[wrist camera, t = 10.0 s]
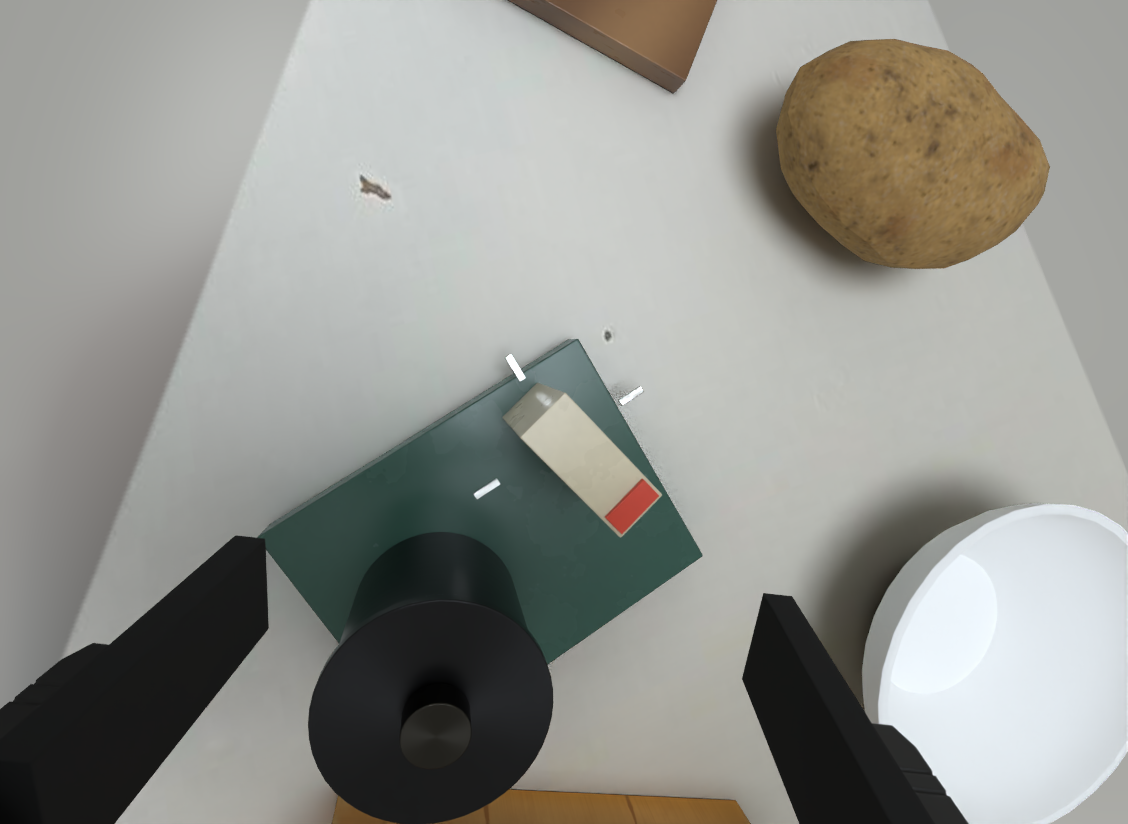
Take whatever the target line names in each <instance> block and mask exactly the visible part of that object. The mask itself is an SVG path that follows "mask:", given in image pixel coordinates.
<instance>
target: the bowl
mask: <svg viewBox="0 0 1128 824" xmlns="http://www.w3.org/2000/svg"><path fill="white" fill-rule="evenodd" d="M862 682H863V700H864V707H865V713H866V715H867V716H868V718H869V720H870V721H871V723H875V724H884V725H892V726H893V727H895V728H896V729H897V730H898V731H899V732H900V733H901V734H902V735H903V736H904V737H905V738H907V739H908V740H909V741H910V742H911V743H912V744H913V745H914V746H915V747H916V748H917V749H918V751H919V752H920V754H921V755H922V757H923V758H924V760H925V761H926V762H927V764H928V765H929V767H930V768H931V770H932V774H933V776H936V777H937V778H938V780H939V781H940V783H941V784H942V786H943V787H944V789H945V790H946V795H947V796H950V797H951V799H952V800H953V802H954V803H955V805H956V806H957V808H958V809H959V810H960V812H961V813H962V815H963V816H964V818H965V819H966V821H967V822H968V824H1050V823H1051V822H1053V821H1055V820H1056V819H1058V818H1060V817H1062V816H1063V815H1065V814H1067V813H1069V812H1070V811H1072V810H1073V809H1074V808H1075V807H1076V806H1078V805H1079V804H1080V803H1081V802H1083V801H1084V800H1085V799H1086V798H1088V797H1089V796H1090V795H1091V794H1092V793H1094V792H1095V791H1096V790H1097V788H1098V787H1099V786H1100V785H1101V784H1102V783H1103V782H1104V781H1105V780H1106V779H1107V778H1108V776H1109V775H1110V774H1111V773H1112V772H1113V771H1114V770H1115V769H1116V767H1117V766H1118V764H1119V763H1120V761H1121V760H1122V758H1123V757H1124V756H1125V754H1126V753H1127V751H1128V533H1127V532H1126V531H1125V530H1124V529H1123V528H1122V527H1121V526H1120V525H1119V524H1117V523H1116V522H1114V521H1112V520H1111V519H1109V518H1107V517H1106V516H1104V515H1102V514H1101V513H1099V512H1097V511H1093V510H1090V509H1086V508H1083V507H1079V506H1075V505H1071V504H1045V503H1029V504H1020V505H1013V506H1008V507H1004V508H999V509H994V510H990V511H986V512H984V513H982V514H980V515H977V516H975V517H973V518H971V519H968V520H966V521H964V522H962V523H960V524H957V525H955V526H953V527H951V528H948V529H946V530H945V531H944V532H942V533H941V534H939V535H938V536H937V537H935V538H934V539H932V540H931V541H929V542H928V543H927V544H925V545H924V546H923V547H922V548H921V549H920V550H919V551H918V552H917V553H916V554H915V555H914V556H913V557H912V558H911V559H910V560H909V561H908V562H907V563H906V564H905V565H904V566H903V568H902V569H901V571H900V572H899V573H898V575H897V576H896V578H895V579H894V580H893V582H892V583H891V585H890V586H889V587H888V589H887V591H886V593H885V595H884V597H883V599H882V601H881V603H880V605H879V607H878V609H877V611H876V613H875V615H874V618H873V621H872V624H871V627H870V631H869V634H868V637H867V640H866V644H865V652H864V659H863V667H862Z"/></svg>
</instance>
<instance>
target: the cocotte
mask: <svg viewBox="0 0 1128 824" xmlns="http://www.w3.org/2000/svg"><path fill="white" fill-rule="evenodd" d="M552 709H553V687H552V680H551V675H550V672H549V668H548V665H547V662H546V659H545V657H544V654H543V652H542V650H541V648H540V646H539V644H538V643H537V641H536V640H535V638H534V637H533V635H532V634H531V633H530V632H529V631H528V628H527V625H526V622H525V619H524V616H523V612H522V609H521V606H520V603H519V600H518V596H517V593H516V590H515V587H514V584H513V580H512V577H511V575H510V573H509V571H508V569H507V567H506V566H505V564H504V563H503V561H502V560H501V559H500V558H499V557H498V555H497V554H496V553H495V552H493V551H492V550H491V549H490V548H489V547H487V546H486V545H484V544H483V543H481V542H479V541H477V540H475V539H473V538H471V537H467V536H464V535H461V534H456V533H448V532H435V533H426V534H421V535H417V536H414V537H411V538H408V539H406V540H404V541H402V542H399V543H397V544H396V545H394V546H393V547H391V548H390V549H388V550H387V551H386V552H384V553H383V554H382V555H381V556H380V557H379V558H378V559H377V560H376V561H375V562H374V563H373V564H372V565H371V567H370V568H369V569H368V571H367V572H366V574H365V575H364V577H363V579H362V581H361V583H360V585H359V588H358V590H357V593H356V596H355V599H354V602H353V605H352V608H351V611H350V614H349V617H348V620H347V623H346V626H345V629H344V631H343V634H342V637H341V640H340V643H339V645H338V646H337V647H336V649H335V650H334V651H333V653H332V654H331V656H330V657H329V658H328V660H327V662H326V664H325V666H324V668H323V669H322V671H321V673H320V676H319V679H318V681H317V684H316V686H315V689H314V692H313V695H312V700H311V704H310V708H309V720H308V730H309V741H310V745H311V750H312V754H313V757H314V759H315V762H316V764H317V767H318V769H319V771H320V772H321V774H322V776H323V777H324V779H325V781H326V782H327V783H328V784H329V786H330V787H331V788H332V789H333V791H334V792H335V793H336V794H337V795H339V796H340V797H341V798H342V799H343V800H344V801H345V802H347V803H348V804H350V805H351V806H353V807H354V808H356V809H357V810H359V811H361V812H363V813H365V814H367V815H369V816H371V817H374V818H378V819H381V820H384V821H388V822H393V823H399V824H434V823H440V822H445V821H450V820H453V819H456V818H460V817H463V816H465V815H468V814H470V813H472V812H475V811H477V810H479V809H481V808H483V807H484V806H486V805H488V804H490V803H492V802H493V801H494V800H496V799H497V798H499V797H500V796H501V795H503V794H504V793H505V792H506V791H508V790H509V789H510V788H511V787H512V786H513V785H514V784H515V783H516V782H517V781H518V780H519V779H520V778H521V777H522V776H523V775H524V774H525V772H526V771H527V770H528V768H529V767H530V766H531V764H532V763H533V761H534V760H535V758H536V756H537V755H538V753H539V751H540V749H541V747H542V745H543V743H544V740H545V738H546V735H547V733H548V729H549V725H550V721H551V717H552Z"/></svg>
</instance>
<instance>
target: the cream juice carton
mask: <svg viewBox="0 0 1128 824" xmlns="http://www.w3.org/2000/svg"><path fill="white" fill-rule="evenodd" d="M502 418H503V419H504V420H505V422H506V423H507V424H508V425H509V426H510V427H511V428H512V429H513V431H514V432H515V433H516V434H517V435H518V436H519V437H520V438H521V439H522V440H523V441H524V442H525V443H526V444H527V445H528V446H529V447H530V448H531V449H532V450H533V451H534V452H535V453H536V454H537V455H538V456H539V457H540V458H541V459H542V460H543V461H544V462H545V463H546V464H547V465H548V466H549V467H550V468H551V469H552V470H553V471H554V472H555V473H556V474H557V475H558V476H559V477H560V478H561V479H562V480H563V481H564V482H565V483H566V484H567V485H568V486H569V487H570V488H571V489H572V490H573V491H574V492H575V493H576V494H577V495H578V496H579V497H580V498H581V499H582V500H583V501H584V502H585V503H586V504H587V505H588V506H589V507H590V508H591V509H592V510H593V511H594V512H595V513H596V514H597V515H598V516H599V517H600V518H601V519H602V520H603V521H604V522H605V523H606V524H607V525H608V526H609V527H610V528H611V529H612V530H613V531H614V532H615V533H616V534H617V535H618V536H619V537H620V538H621V537H622V536H623V535H624V534H625V533H626V532H627V531H628V530H629V529H630V528H631V527H632V526H633V525H634V524H635V523H636V522H637V521H638V520H639V519H640V518H641V517H642V516H643V515H644V514H645V513H646V512H647V511H648V509H649V508H650V507H651V506H652V505H653V504H654V503H655V502H656V501H657V500H658V499H659V498H660V497H661V496H662V494H661V493H660V492H659V491H658V489H657V488H656V487H655V486H654V485H653V484H652V483H651V482H650V481H649V480H648V479H647V478H646V477H645V476H644V475H643V474H642V473H641V472H640V471H639V469H638V468H637V467H636V466H635V465H634V464H633V463H632V462H631V461H630V460H629V459H628V458H627V457H626V456H625V455H624V454H623V453H622V452H621V450H620V449H619V448H618V447H617V446H616V445H615V444H614V443H613V442H612V441H611V440H610V439H609V438H608V437H607V436H606V435H605V434H604V433H603V432H602V430H601V429H600V428H599V427H598V426H597V425H596V424H595V423H594V422H593V421H592V420H591V419H590V418H589V417H588V416H587V415H586V414H585V413H584V412H583V410H582V409H581V408H580V407H579V406H578V405H577V404H576V403H575V402H574V401H573V400H572V399H571V398H570V397H569V396H568V395H567V394H566V393H565V392H562V391H559V390H556V389H553V388H551V387H548V386H545V385H542V384H540V383H536V384H535V385H534V386H533V387H532V388H531V389H530V390H529V391H528V392H527V393H526V394H525V395H524V396H523V397H522V398H521V399H520V400H519V401H518V402H517V403H516V404H515V405H514V406H513V407H512V408H511V409H510V410H509V411H508V412H507V413H506V414H505V415H504V416H503V417H502Z"/></svg>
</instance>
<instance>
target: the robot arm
mask: <svg viewBox="0 0 1128 824" xmlns="http://www.w3.org/2000/svg"><path fill="white" fill-rule="evenodd" d="M268 628H269V627H268V600H267V573H266V546H265V539H263V538H254V537H245V536H234V537H233V538H232V539H231V540H230V541H229V542H227V543H226V544H225V545H224V546H223V547H222V548H221V549H219V550H218V551H217V552H216V553H215V554H214V555H212V556H211V557H210V558H209V559H208V560H207V561H206V562H204V563H203V564H202V565H201V566H200V567H199V568H197V569H196V570H195V571H194V572H193V573H192V574H190V575H189V576H188V577H187V578H186V579H185V580H184V581H182V582H181V583H180V584H179V585H178V586H177V587H175V588H174V589H173V590H172V591H171V592H170V593H169V594H167V595H166V596H165V597H164V598H163V599H162V600H160V601H159V602H158V603H157V604H156V605H155V606H154V607H152V608H151V609H150V610H149V611H148V612H147V613H145V614H144V615H143V616H142V617H141V618H140V619H138V620H137V621H136V622H135V623H134V624H133V625H132V626H130V627H129V628H128V629H127V630H126V631H125V632H123V633H122V634H121V635H120V636H119V637H118V638H117V639H115V640H114V641H113V642H112V643H111V644H110V645H106V644H96V643H92V644H90V645H88V646H87V647H85V648H83V649H81V650H79V651H77V652H75V653H73V654H71V655H69V656H67V657H65V658H64V659H62V660H60V661H59V662H58V663H57V664H55V665H54V666H53V667H52V668H50V669H49V670H48V671H47V672H46V673H44V674H43V675H42V676H41V677H39V678H38V679H37V680H36V683H35V684H34V685H33V684H31V685H29V686H28V687H27V688H26V689H25V690H23V691H22V692H21V693H20V694H18V695H17V696H16V697H15V699H14V701H13V702H9V703H7V704H6V705H5V706H4V707H2V708H1V709H0V824H115V822H116V821H117V820H118V818H119V817H120V816H121V815H122V813H123V812H124V811H125V810H126V808H127V807H128V806H129V805H130V803H131V802H132V801H133V799H134V798H135V797H136V796H137V794H138V793H139V792H140V791H141V789H142V788H143V787H144V786H145V784H146V783H147V782H148V780H149V779H150V778H151V777H152V775H153V774H154V773H155V772H156V770H157V769H158V768H159V767H160V765H161V764H162V763H163V761H164V760H165V759H166V758H167V756H168V755H169V754H170V753H171V751H172V750H173V749H174V748H175V746H176V745H177V744H178V742H179V741H180V740H181V739H182V737H183V736H184V735H185V734H186V732H187V731H188V730H189V729H190V727H191V726H192V725H193V723H194V722H195V721H196V720H197V718H198V717H199V716H200V715H201V713H202V712H203V711H204V710H205V708H206V707H207V706H208V704H209V703H210V702H211V701H212V699H213V698H214V697H215V696H216V694H217V693H218V692H219V691H220V689H221V688H222V687H223V685H224V684H225V683H226V682H227V680H228V679H229V678H230V677H231V675H232V674H233V673H234V672H235V670H236V669H237V668H238V666H239V665H240V664H241V663H242V661H243V660H244V659H245V658H246V656H247V655H248V654H249V653H250V651H251V650H252V649H253V647H254V646H255V645H256V644H257V642H258V641H259V640H260V639H261V637H262V636H263V635H264V634H265V632H266V631H267V630H268ZM742 680H743V682H744V685H745V687H746V690H747V692H748V695H749V697H750V700H751V702H752V705H753V707H754V710H755V712H756V715H757V718H758V720H759V723H760V725H761V728H762V730H763V733H764V735H765V738H766V740H767V743H768V745H769V748H770V750H771V753H772V756H773V758H774V761H775V763H776V766H777V768H778V771H779V773H780V776H781V778H782V781H783V783H784V786H785V788H786V791H787V794H788V796H789V799H790V801H791V804H792V806H793V809H794V811H795V814H796V816H797V819H798V821H799V824H968V822H967V821H966V819H965V818H964V816H963V815H962V813H961V812H960V810H959V809H958V808H957V806H956V805H955V803H954V802H953V800H952V799H951V797H950V796H947V795H946V790H945V789H944V787H943V786H942V784H941V783H940V781H939V780H938V778H937V777H936V776H933V774H932V770H931V768H930V767H929V765H928V764H927V762H926V761H925V760H924V758H923V757H922V755H921V754H920V752H919V751H918V749H917V748H916V747H915V746H914V745H913V744H912V743H911V742H910V741H909V740H908V739H907V738H905V737H904V736H903V735H902V734H901V733H900V732H899V731H898V730H897V729H896V728H895V727H893V726H892V725H884V724H875V723H871V721H870V720H869V718H868V716H867V715H866V713H865V712H864V710H863V708H862V707H861V705H860V704H859V702H858V701H857V699H856V697H855V696H854V694H853V693H852V691H851V689H850V688H849V686H848V685H847V683H846V681H845V680H844V678H843V677H842V675H841V673H840V672H839V670H838V669H837V667H836V666H835V664H834V662H833V661H832V659H831V658H830V656H829V654H828V653H827V651H826V650H825V648H824V646H823V645H822V643H821V642H820V640H819V639H818V637H817V635H816V634H815V632H814V631H813V629H812V627H811V626H810V624H809V623H808V621H807V619H806V618H805V616H804V615H803V613H802V612H801V610H800V608H799V607H798V605H797V604H796V602H795V600H794V599H793V597H792V596H784V595H775V594H765V593H763V597H762V601H761V605H760V609H759V613H758V617H757V621H756V625H755V629H754V633H753V637H752V641H751V645H750V649H749V653H748V657H747V661H746V665H745V669H744V673H743V677H742Z"/></svg>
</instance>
